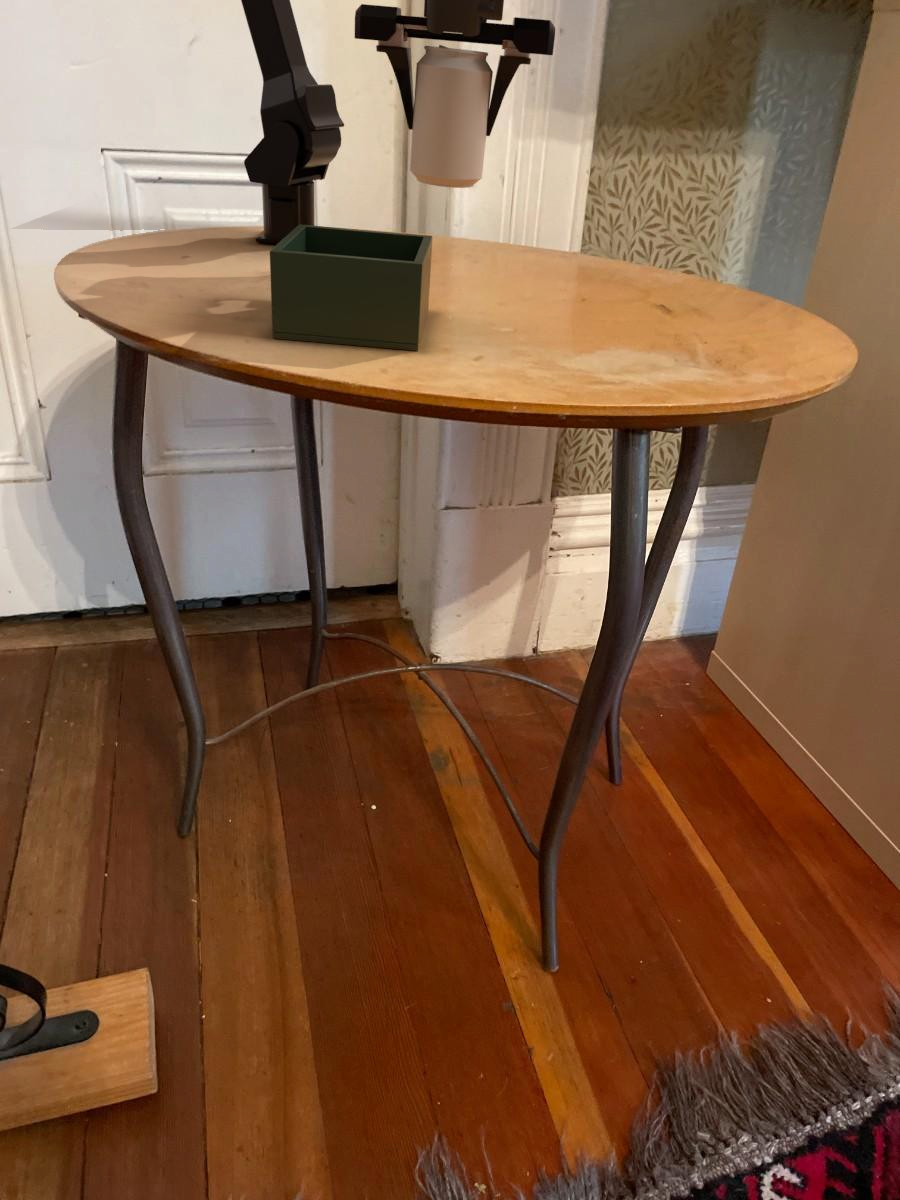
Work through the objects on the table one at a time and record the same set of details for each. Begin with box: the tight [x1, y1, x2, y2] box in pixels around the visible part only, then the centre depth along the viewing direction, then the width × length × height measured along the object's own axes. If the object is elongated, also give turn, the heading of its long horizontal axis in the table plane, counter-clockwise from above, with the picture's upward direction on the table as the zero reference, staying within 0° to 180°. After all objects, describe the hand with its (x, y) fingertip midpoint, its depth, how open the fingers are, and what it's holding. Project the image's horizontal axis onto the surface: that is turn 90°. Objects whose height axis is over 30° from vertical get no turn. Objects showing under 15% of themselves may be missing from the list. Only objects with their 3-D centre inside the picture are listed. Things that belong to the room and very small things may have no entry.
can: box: [409, 44, 494, 189], centre depth 89 cm, size 8×8×12 cm
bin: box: [269, 224, 433, 352], centre depth 72 cm, size 11×11×6 cm
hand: (449, 132), depth 89 cm, fingers closed on can, 7 cm apart
